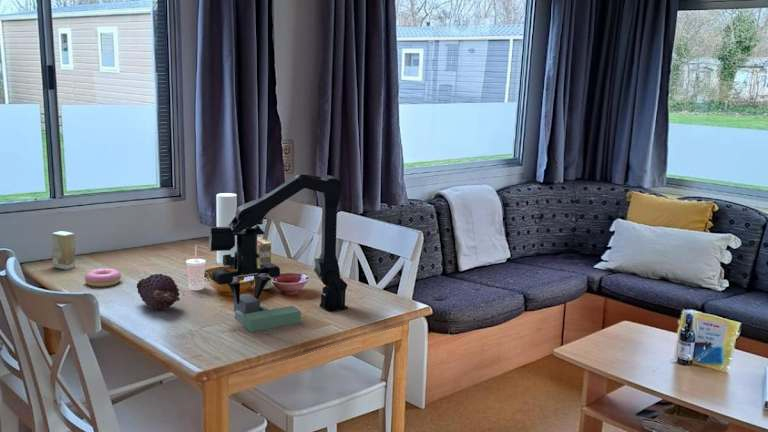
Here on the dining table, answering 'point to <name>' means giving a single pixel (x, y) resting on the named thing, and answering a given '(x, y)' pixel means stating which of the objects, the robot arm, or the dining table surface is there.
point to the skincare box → (63, 250)
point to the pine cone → (158, 291)
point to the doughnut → (102, 277)
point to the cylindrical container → (226, 218)
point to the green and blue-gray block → (269, 318)
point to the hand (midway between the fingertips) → (246, 302)
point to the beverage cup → (196, 272)
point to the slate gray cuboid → (247, 304)
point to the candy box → (264, 256)
